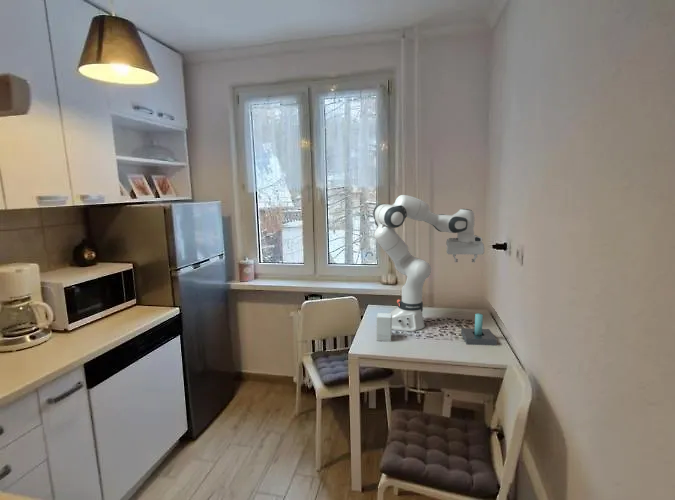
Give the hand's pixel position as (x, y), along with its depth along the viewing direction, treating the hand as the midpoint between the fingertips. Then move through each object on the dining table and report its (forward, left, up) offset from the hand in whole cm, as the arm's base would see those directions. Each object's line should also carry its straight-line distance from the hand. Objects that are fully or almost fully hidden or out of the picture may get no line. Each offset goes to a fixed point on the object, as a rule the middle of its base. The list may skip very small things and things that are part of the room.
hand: (464, 262), depth 214 cm
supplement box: (-45, -32, -34) cm, 65 cm away
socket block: (+2, -29, -34) cm, 45 cm away
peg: (+2, -29, -34) cm, 45 cm away
